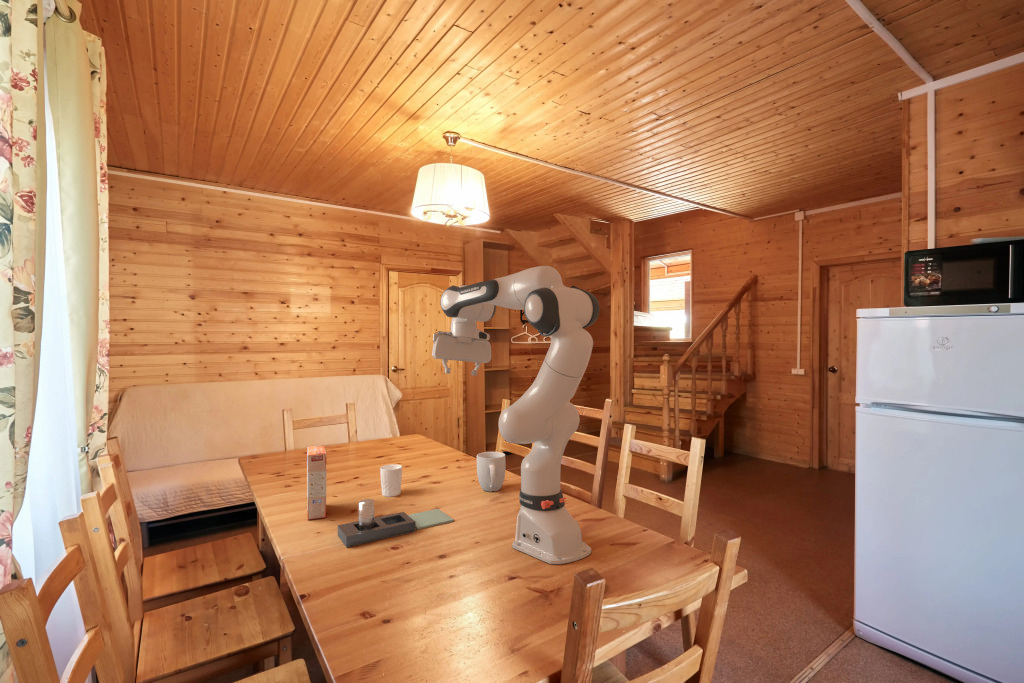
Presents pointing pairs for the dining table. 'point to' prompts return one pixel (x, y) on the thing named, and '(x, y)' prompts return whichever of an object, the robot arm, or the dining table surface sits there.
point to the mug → (491, 470)
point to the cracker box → (316, 482)
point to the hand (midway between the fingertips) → (460, 374)
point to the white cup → (391, 479)
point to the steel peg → (366, 514)
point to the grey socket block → (376, 529)
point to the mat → (430, 518)
